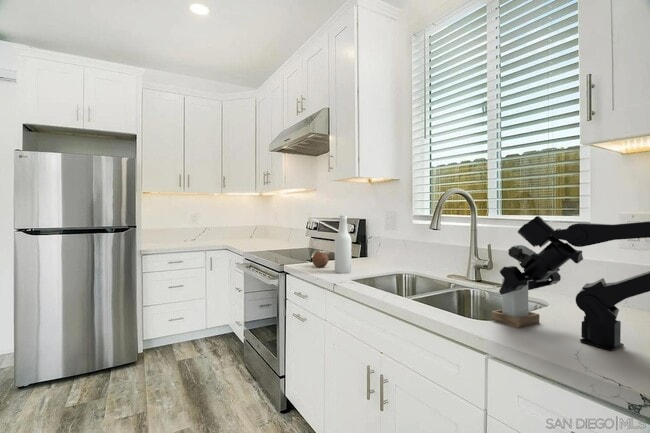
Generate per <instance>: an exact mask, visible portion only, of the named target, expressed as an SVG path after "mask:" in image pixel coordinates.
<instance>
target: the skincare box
mask: <svg viewBox="0 0 650 433" xmlns="http://www.w3.org/2000/svg"><path fill="white" fill-rule="evenodd" d="M501 280H502V281H501V283H502V284H503V282H504V277H502V278H501ZM502 284H501V285H502ZM501 296H502V297H501V298H502V300H501V303H502V306H501V309H502V314H505V315H509V316H512V317H516V318H521V317H526V316H528V311H529V290H528V281H527V285H526V286H525V287H523V288H522V289H521V290H517V291H513V292H510V293H506V294H502V295H501Z"/></svg>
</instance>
